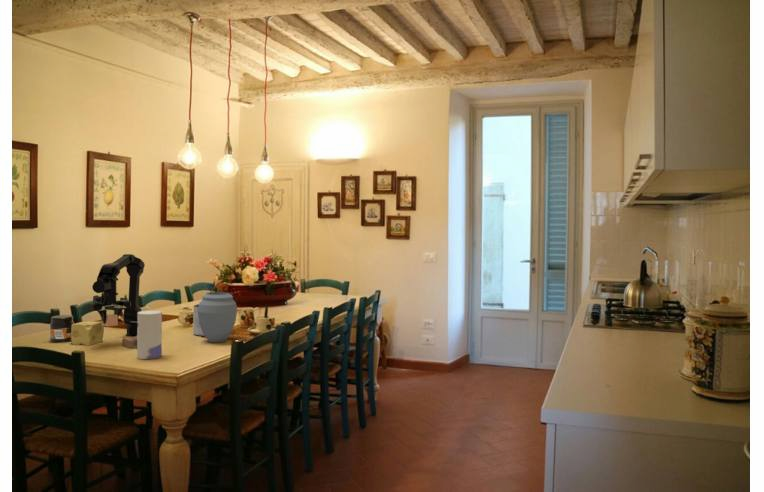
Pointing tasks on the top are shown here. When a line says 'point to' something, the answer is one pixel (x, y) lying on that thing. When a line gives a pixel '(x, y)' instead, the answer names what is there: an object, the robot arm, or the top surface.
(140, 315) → the container
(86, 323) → the cheese
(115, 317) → the pink cube
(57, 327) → the supplement container
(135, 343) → the mauve short cylinder
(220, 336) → the vase
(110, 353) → the top surface
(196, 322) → the planter
